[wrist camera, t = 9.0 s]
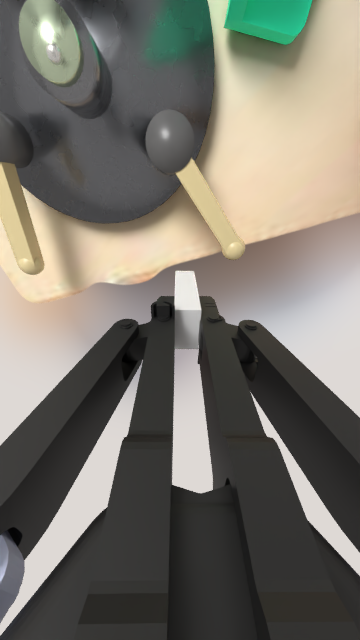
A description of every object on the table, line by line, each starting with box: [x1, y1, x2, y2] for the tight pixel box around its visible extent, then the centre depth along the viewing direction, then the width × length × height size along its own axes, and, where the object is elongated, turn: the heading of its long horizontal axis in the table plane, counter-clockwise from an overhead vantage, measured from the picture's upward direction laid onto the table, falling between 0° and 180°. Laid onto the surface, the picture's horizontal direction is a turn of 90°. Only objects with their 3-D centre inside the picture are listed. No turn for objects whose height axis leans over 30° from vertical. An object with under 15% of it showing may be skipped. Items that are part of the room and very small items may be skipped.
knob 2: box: [146, 110, 245, 260], centre depth 26 cm, size 18×5×5 cm, turn 37°
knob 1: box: [0, 111, 44, 275], centre depth 26 cm, size 18×5×5 cm, turn 178°
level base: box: [0, 0, 214, 223], centre depth 20 cm, size 28×28×10 cm
